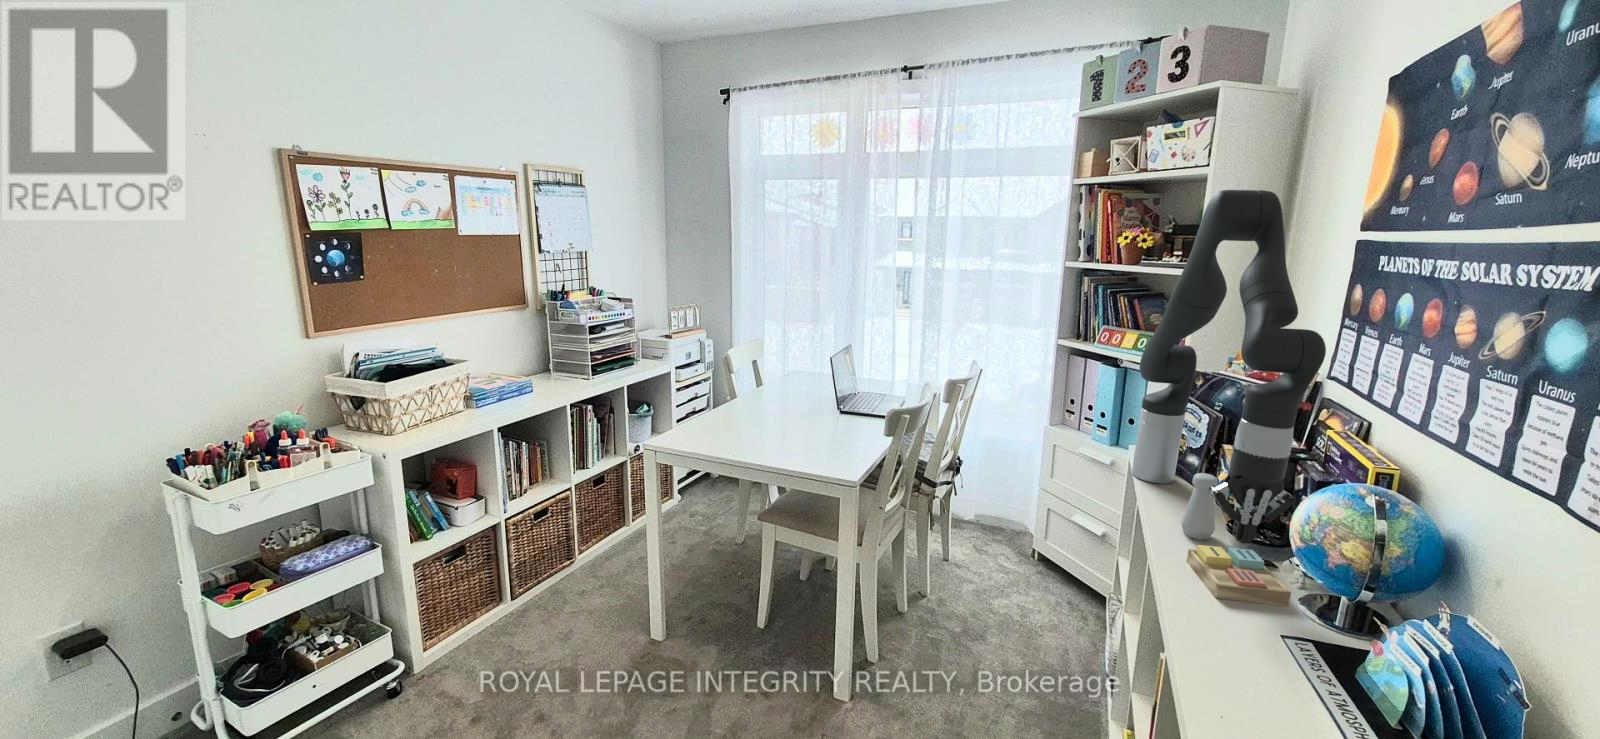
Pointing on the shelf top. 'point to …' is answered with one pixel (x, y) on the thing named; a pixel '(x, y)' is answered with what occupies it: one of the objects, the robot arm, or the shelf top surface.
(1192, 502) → the salt shaker
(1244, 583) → the tile
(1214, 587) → the button board
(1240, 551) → the tile
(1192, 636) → the shelf top surface
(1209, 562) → the tile
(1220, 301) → the robot arm
